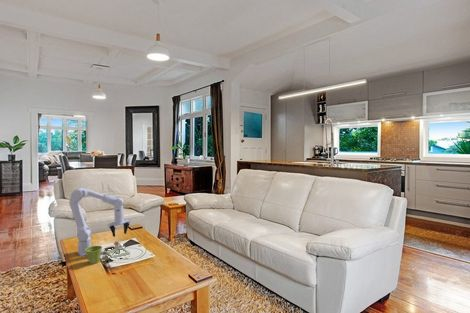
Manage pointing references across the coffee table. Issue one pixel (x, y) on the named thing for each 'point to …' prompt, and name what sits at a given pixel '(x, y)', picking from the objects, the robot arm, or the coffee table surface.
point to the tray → (118, 254)
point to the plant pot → (94, 254)
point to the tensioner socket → (109, 248)
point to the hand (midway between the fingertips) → (119, 235)
